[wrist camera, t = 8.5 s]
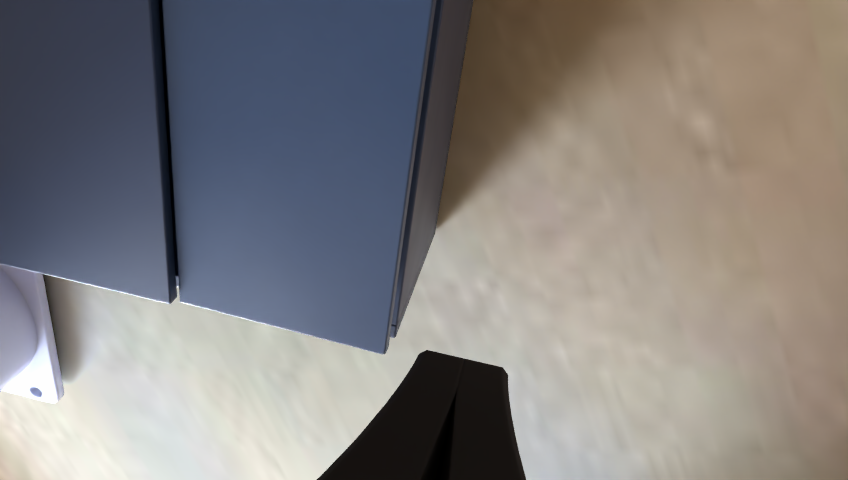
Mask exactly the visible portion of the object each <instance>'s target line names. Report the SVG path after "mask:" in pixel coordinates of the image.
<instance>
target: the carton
mask: <svg viewBox="0 0 848 480" xmlns="http://www.w3.org/2000/svg"><path fill="white" fill-rule="evenodd" d="M472 5H473V0H436V7H435V14H434V22H433V29H432V36H431V43H430V50H429V58H428V65H427V72H426V79H425V86H424V94H423V101H422V108H421V115H420V123H419V130H418V137H417V144H416V151H415V159H414V166H413V173H412V180H411V187H410V195H409V202H408V209H407V216H406V224H405V231H404V238H403V245H402V252H401V260H400V267H399V274H398V281H397V288H396V296H395V303H394V310H393V317H392V325H391V332H390V337H393V338H395V337H396V334H397V332H398V329H399V327H400V324H401V321H402V319H403V316H404V313H405V311H406V308H407V305H408V303H409V300H410V298H411V295H412V292H413V290H414V287H415V284H416V282H417V279H418V276H419V274H420V271H421V269H422V266H423V263H424V261H425V258H426V255H427V253H428V250H429V248H430V245H431V242H432V239H433V237H434V234H435V229H436V223H437V217H438V211H439V205H440V199H441V193H442V187H443V181H444V175H445V169H446V163H447V157H448V151H449V145H450V139H451V133H452V127H453V120H454V114H455V108H456V102H457V96H458V90H459V84H460V78H461V72H462V66H463V60H464V54H465V48H466V42H467V36H468V30H469V24H470V18H471V12H472ZM0 264H4V265H8V266H12V267H16V268H20V269H25V270H29V271H33V272H37V273H42V274H46V275H50V276H54V277H58V278H63V279H67V280H71V281H75V282H79V283H84V284H88V285H92V286H96V287H101V288H105V289H109V290H113V291H117V292H122V293H126V294H130V295H134V296H138V297H143V298H147V299H151V300H155V301H160V302H164V303H168V304H171V303H172V302H173V301H174V299H175V298H176V297H177V289H176V287H179V275H178V258H177V241H176V224H175V207H174V191H173V174H172V157H171V140H170V123H169V107H168V90H167V73H166V56H165V39H164V23H163V6H162V0H0Z"/></svg>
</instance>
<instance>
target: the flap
mask: <svg viewBox="0 0 848 480" xmlns="http://www.w3.org/2000/svg"><path fill="white" fill-rule="evenodd" d="M162 6H163V23H164V39H165V56H166V73H167V90H168V107H169V123H170V140H171V157H172V174H173V191H174V207H175V224H176V241H177V258H178V275H179V291H180V302H182V303H186V304H189V305H193V306H197V307H201V308H205V309H209V310H213V311H217V312H220V313H224V314H228V315H232V316H236V317H240V318H244V319H248V320H251V321H255V322H259V323H263V324H267V325H271V326H275V327H279V328H282V329H286V330H290V331H294V332H298V333H302V334H306V335H310V336H313V337H317V338H321V339H325V340H329V341H333V342H337V343H341V344H344V345H348V346H352V347H356V348H360V349H364V350H368V351H372V352H375V353H379V354H385V353H386V351H387V349H388V346H389V339H390V332H391V325H392V317H393V310H394V303H395V296H396V288H397V281H398V274H399V267H400V260H401V252H402V245H403V238H404V231H405V224H406V216H407V209H408V202H409V195H410V187H411V180H412V173H413V166H414V159H415V151H416V144H417V137H418V130H419V123H420V115H421V108H422V101H423V94H424V86H425V79H426V72H427V65H428V58H429V50H430V43H431V36H432V29H433V22H434V14H435V7H436V0H162Z"/></svg>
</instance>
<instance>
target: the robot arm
mask: <svg viewBox="0 0 848 480" xmlns="http://www.w3.org/2000/svg"><path fill="white" fill-rule="evenodd" d="M1 391H6V392H10V393H14V394H18V395H21V396H25V397H29V398H33V399H37V400H41V401H45V402H49V403H56V402H58V401H59V400H60V399H61V398H62V397H63V395H64V388H63V383H62V377H61V372H60V366H59V361H58V355H57V350H56V344H55V339H54V333H53V328H52V322H51V317H50V311H49V306H48V300H47V295H46V289H45V284H44V278H43V274H42V273H37V272H33V271H29V270H25V269H20V268H16V267H12V266H8V265H4V264H0V392H1ZM317 480H526V478H525V474H524V470H523V466H522V462H521V458H520V455H519V451H518V446H517V442H516V437H515V432H514V427H513V421H512V416H511V409H510V402H509V393H508V374H507V373H506V372H505V370H504V369H503V368H502V367H498V366H494V365H489V364H485V363H481V362H476V361H472V360H468V359H463V358H459V357H455V356H450V355H446V354H442V353H437V352H433V351H429V350H426V351H424V352H422V353H420V354H419V355H418V357H417V359H416V361H415V363H414V364H413V366H412V368H411V369H410V371H409V372H408V374H407V375H406V377H405V378H404V380H403V381H402V383H401V384H400V386H399V387H398V388H397V390H396V391H395V392H394V394H393V395H392V396H391V398H390V399H389V400H388V402H387V403H386V404H385V405H384V407H383V408H382V409H381V410H380V411H379V413H378V414H377V415H376V416H375V417H374V419H373V420H372V421H371V422H370V423H369V425H368V426H367V427H366V428H365V429H364V431H363V432H362V433H361V434H360V435H359V436H358V437H357V439H356V440H355V441H354V442H353V443H352V444H351V445H350V446H349V447H348V448H347V449H346V450H345V451H344V452H343V453H342V454H341V456H340V457H339V458H338V459H337V460H336V461H335V462H334V463H333V464H332V465H331V466H330V467H329V468H328V469H327V470H326V471H325V472H324V473H323V474H322V475H321V476H320V477H319V478H318V479H317Z"/></svg>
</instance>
